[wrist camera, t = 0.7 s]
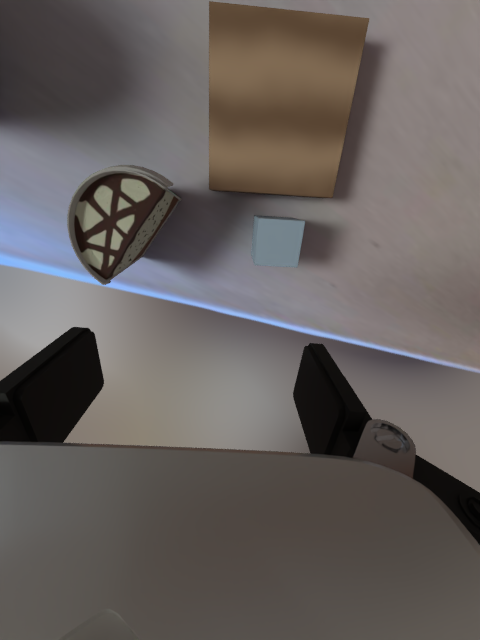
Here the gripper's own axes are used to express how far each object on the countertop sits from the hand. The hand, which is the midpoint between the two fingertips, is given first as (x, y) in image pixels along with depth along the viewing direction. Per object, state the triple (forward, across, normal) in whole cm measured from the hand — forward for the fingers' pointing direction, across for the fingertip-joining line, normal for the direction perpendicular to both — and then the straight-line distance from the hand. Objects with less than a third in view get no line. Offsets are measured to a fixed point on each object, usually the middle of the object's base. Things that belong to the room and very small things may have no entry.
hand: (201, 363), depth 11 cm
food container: (+24, +11, -5) cm, 27 cm away
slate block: (+24, -6, -3) cm, 25 cm away
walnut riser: (+24, -5, -15) cm, 29 cm away
